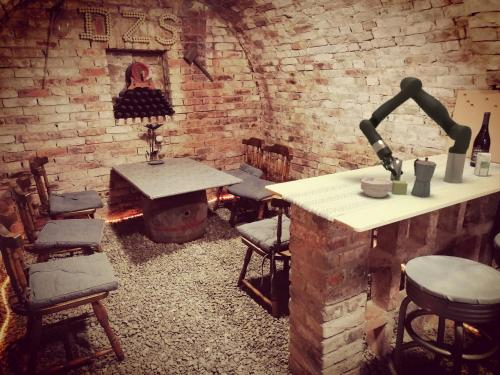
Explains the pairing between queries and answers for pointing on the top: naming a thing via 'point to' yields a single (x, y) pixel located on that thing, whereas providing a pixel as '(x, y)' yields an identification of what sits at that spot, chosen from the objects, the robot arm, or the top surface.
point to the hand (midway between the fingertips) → (399, 174)
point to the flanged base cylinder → (396, 169)
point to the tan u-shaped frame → (399, 187)
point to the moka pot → (423, 177)
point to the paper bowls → (376, 186)
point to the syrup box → (482, 164)
